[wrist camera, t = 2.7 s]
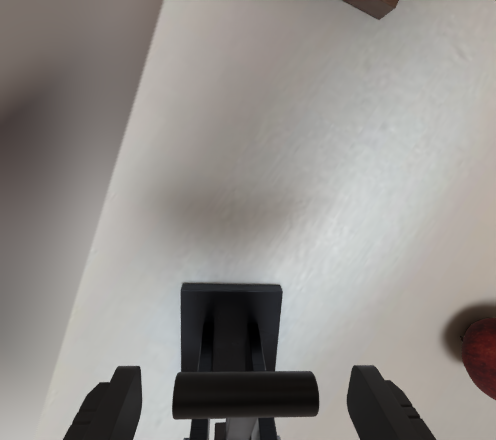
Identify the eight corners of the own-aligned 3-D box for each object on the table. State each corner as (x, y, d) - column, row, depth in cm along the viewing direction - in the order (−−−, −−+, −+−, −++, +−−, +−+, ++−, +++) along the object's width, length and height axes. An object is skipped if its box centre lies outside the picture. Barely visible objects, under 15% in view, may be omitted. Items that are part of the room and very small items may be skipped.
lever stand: (182, 283, 27) (146, 407, 15) (280, 284, 28) (323, 403, 15) (182, 382, 30) (153, 553, 18) (271, 381, 31) (301, 544, 18)
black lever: (178, 352, 11) (168, 431, 9) (311, 351, 11) (326, 427, 10) (193, 433, 20) (190, 480, 18) (267, 431, 20) (271, 477, 19)
